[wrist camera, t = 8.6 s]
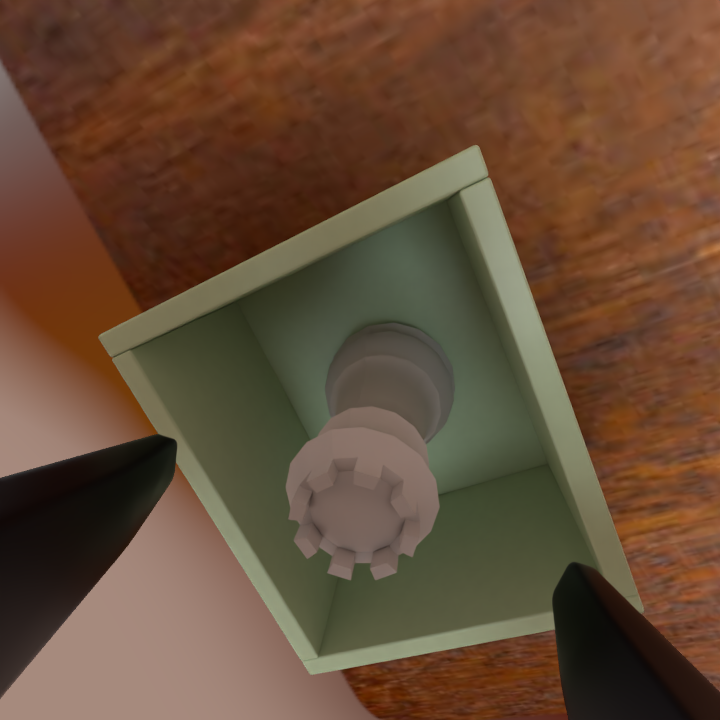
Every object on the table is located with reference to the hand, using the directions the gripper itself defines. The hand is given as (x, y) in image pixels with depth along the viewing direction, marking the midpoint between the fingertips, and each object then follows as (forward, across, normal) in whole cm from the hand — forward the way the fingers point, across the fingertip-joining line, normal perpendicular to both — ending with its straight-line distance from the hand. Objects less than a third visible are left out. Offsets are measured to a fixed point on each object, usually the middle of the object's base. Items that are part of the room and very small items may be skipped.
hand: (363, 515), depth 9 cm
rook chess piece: (+8, 0, 0) cm, 8 cm away
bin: (+8, 0, 0) cm, 8 cm away
